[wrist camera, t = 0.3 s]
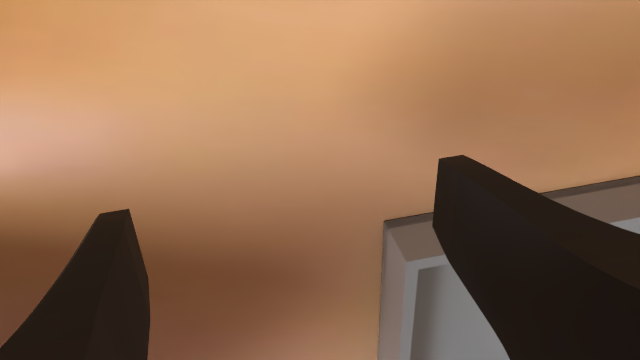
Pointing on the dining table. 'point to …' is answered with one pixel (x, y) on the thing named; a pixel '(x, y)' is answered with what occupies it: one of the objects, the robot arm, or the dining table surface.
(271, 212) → the dining table surface
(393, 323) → the box
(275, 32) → the dining table surface
